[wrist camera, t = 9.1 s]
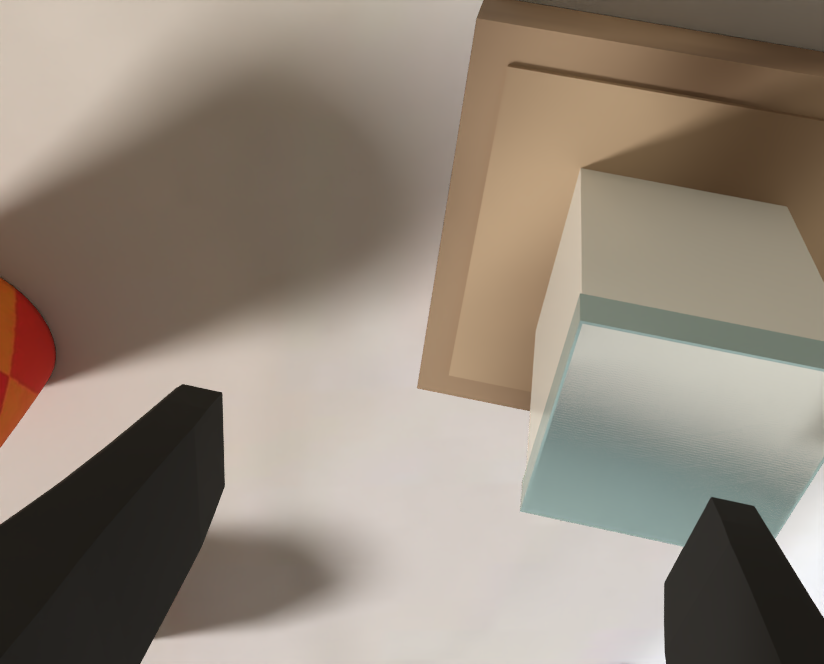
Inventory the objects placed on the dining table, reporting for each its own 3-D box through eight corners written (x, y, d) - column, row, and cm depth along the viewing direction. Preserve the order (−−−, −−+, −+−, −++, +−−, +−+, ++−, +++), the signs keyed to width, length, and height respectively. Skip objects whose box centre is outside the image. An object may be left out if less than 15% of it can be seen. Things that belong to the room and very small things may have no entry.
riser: (944, 72, 17) (986, 106, 15) (763, 412, 23) (779, 465, 21) (485, -5, 17) (475, 20, 16) (428, 346, 23) (416, 391, 22)
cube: (790, 205, 17) (876, 379, 12) (714, 367, 20) (759, 563, 15) (578, 165, 17) (580, 320, 12) (533, 331, 20) (519, 511, 15)
